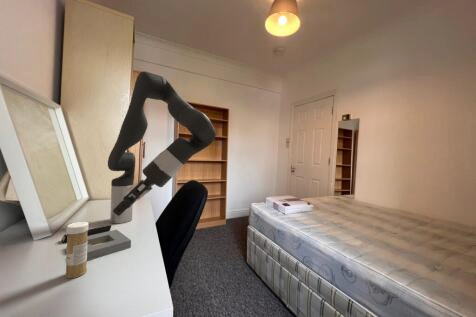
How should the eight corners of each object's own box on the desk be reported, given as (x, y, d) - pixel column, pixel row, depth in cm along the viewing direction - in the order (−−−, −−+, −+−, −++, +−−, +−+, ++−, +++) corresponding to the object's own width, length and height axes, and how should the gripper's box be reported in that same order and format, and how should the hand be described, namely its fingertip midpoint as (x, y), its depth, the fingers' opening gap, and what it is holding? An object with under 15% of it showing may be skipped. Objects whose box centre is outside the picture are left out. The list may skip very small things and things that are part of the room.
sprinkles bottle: (63, 274, 53) (65, 223, 53) (84, 267, 56) (86, 220, 56) (67, 281, 50) (68, 228, 50) (89, 273, 53) (90, 224, 53)
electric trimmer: (112, 233, 81) (112, 225, 81) (62, 245, 70) (63, 236, 70) (109, 231, 84) (109, 223, 84) (60, 241, 72) (61, 233, 72)
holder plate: (70, 247, 67) (70, 240, 67) (116, 235, 78) (116, 229, 78) (80, 262, 58) (80, 254, 58) (130, 247, 69) (130, 240, 69)
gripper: (157, 159, 65) (118, 196, 62) (149, 158, 51) (99, 206, 48) (174, 175, 66) (137, 212, 63) (171, 178, 53) (124, 225, 49)
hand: (121, 209), depth 56 cm, fingers open, 8 cm apart
